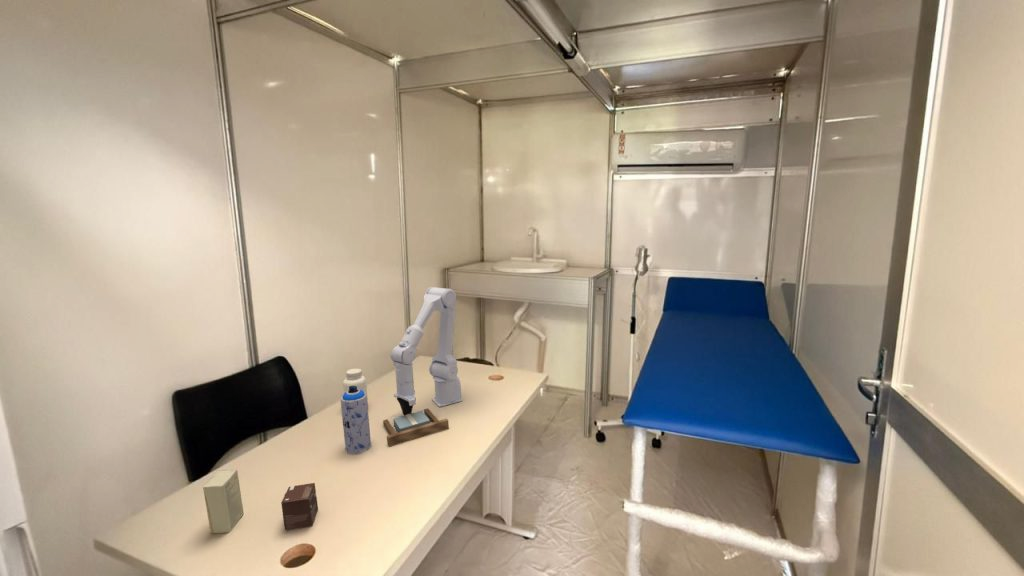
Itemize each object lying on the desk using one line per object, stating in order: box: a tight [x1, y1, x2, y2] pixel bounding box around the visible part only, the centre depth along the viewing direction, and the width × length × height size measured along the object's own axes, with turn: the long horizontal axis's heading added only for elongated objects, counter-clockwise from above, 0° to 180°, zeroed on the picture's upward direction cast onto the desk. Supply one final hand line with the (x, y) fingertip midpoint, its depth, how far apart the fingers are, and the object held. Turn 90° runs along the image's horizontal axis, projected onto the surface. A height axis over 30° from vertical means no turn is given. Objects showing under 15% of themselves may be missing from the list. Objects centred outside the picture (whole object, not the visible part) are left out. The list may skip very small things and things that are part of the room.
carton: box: [393, 410, 431, 433], centre depth 140 cm, size 10×8×4 cm
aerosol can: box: [340, 386, 373, 455], centre depth 127 cm, size 8×8×20 cm
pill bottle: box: [342, 368, 369, 406], centre depth 153 cm, size 8×8×15 cm
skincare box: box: [202, 469, 244, 534], centre depth 97 cm, size 6×4×12 cm
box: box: [281, 482, 319, 531], centre depth 98 cm, size 6×6×7 cm
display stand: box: [382, 407, 450, 447], centre depth 140 cm, size 20×14×3 cm
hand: (407, 416), depth 144 cm, fingers closed
